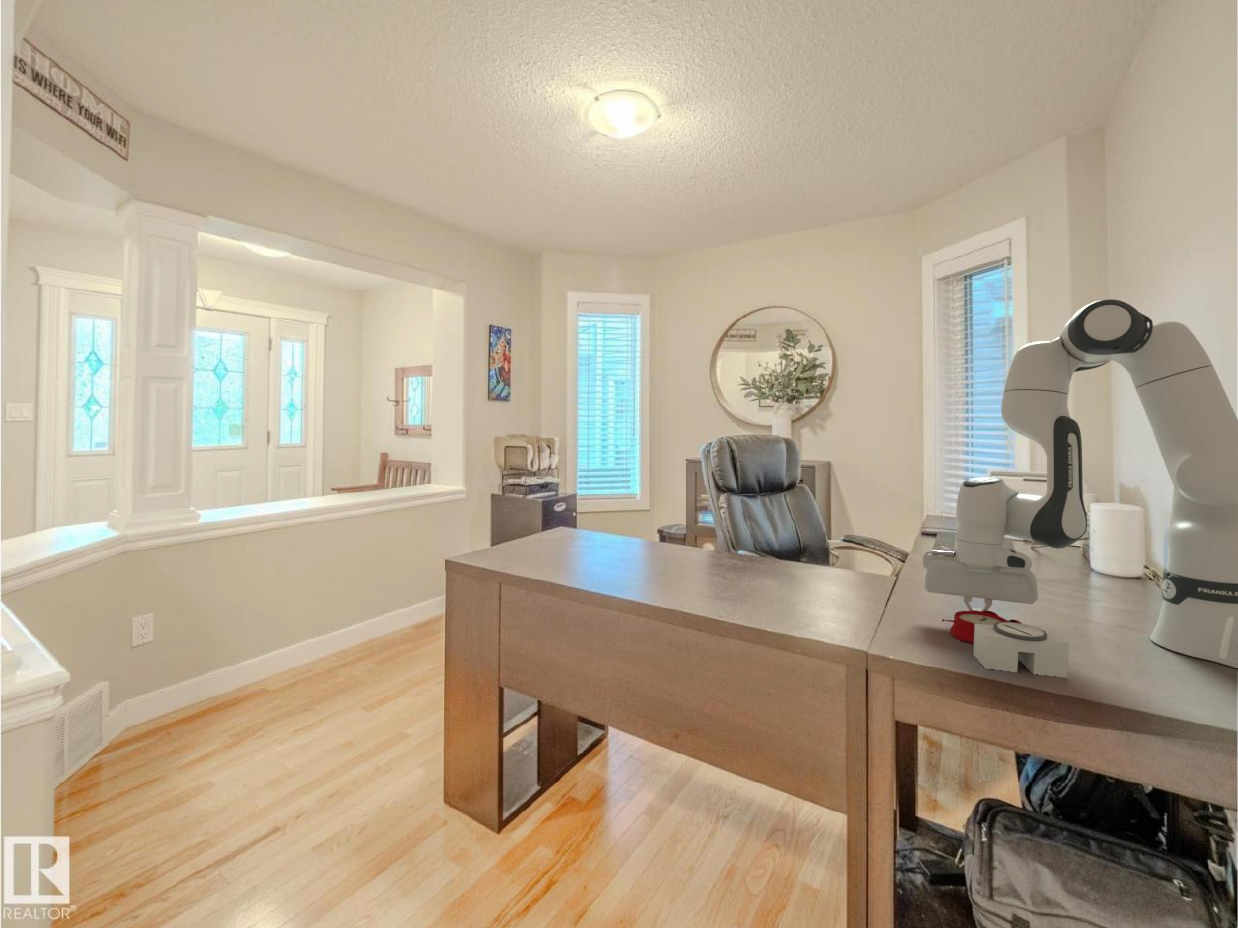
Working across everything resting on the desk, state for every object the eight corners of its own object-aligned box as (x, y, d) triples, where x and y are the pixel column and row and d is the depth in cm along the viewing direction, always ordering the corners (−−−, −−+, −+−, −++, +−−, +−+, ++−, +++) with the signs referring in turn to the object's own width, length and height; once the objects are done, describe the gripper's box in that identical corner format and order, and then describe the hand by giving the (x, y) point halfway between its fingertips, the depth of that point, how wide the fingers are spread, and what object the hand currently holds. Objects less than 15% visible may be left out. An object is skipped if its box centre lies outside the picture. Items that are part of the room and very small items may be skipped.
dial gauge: (1047, 661, 98) (1049, 624, 98) (1069, 679, 91) (1071, 640, 90) (971, 653, 101) (973, 617, 101) (987, 670, 94) (988, 632, 94)
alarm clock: (934, 614, 112) (990, 592, 116) (938, 642, 113) (993, 620, 117) (979, 632, 102) (1039, 608, 106) (984, 663, 103) (1043, 638, 107)
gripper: (923, 551, 117) (921, 614, 118) (1041, 562, 108) (1038, 630, 109) (922, 546, 123) (920, 606, 124) (1034, 555, 114) (1031, 620, 115)
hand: (976, 617), depth 116 cm, fingers closed
